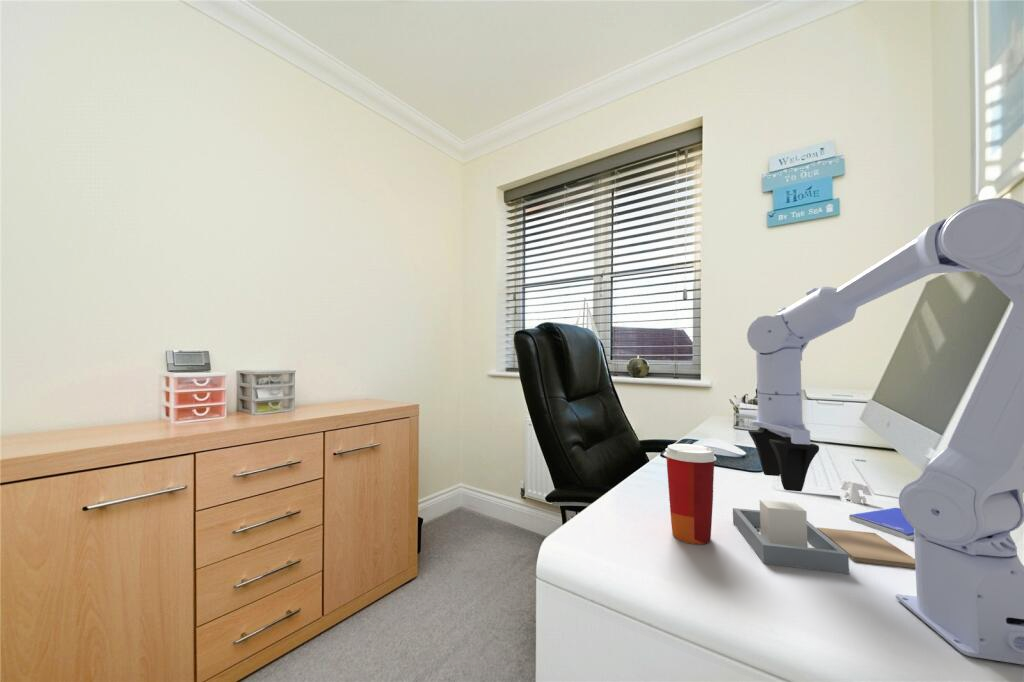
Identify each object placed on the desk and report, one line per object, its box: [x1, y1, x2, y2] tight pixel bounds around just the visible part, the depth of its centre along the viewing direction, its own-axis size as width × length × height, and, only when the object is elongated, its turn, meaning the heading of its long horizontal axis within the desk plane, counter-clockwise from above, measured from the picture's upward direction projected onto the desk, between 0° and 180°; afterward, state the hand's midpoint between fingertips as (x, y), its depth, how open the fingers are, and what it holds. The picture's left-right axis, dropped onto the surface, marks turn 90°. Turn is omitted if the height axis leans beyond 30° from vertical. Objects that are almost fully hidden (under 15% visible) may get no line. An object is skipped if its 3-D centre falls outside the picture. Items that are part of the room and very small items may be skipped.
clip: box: [839, 480, 873, 505], centre depth 78 cm, size 5×2×4 cm, turn 34°
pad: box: [816, 526, 916, 569], centre depth 58 cm, size 10×8×1 cm
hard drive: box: [848, 507, 914, 541], centre depth 67 cm, size 2×8×12 cm
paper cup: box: [663, 443, 717, 545], centre depth 62 cm, size 8×8×14 cm
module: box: [759, 499, 809, 547], centre depth 59 cm, size 4×5×6 cm
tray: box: [732, 507, 850, 574], centre depth 59 cm, size 14×10×2 cm
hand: (781, 482), depth 60 cm, fingers open, 7 cm apart
